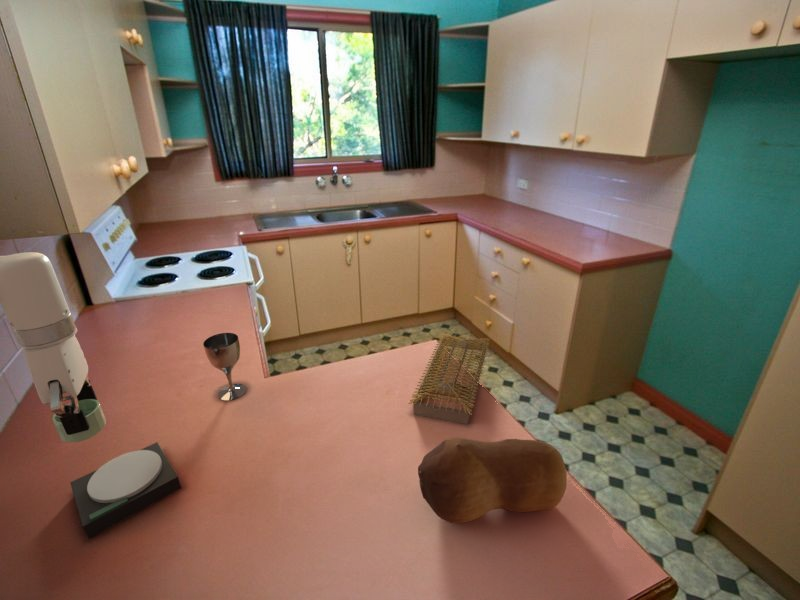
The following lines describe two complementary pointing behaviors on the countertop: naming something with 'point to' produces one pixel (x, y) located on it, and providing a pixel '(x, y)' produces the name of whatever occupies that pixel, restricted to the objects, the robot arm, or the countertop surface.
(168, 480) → the scale
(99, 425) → the bowl
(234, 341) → the wine glass
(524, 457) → the butternut squash
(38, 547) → the countertop surface
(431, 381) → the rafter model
